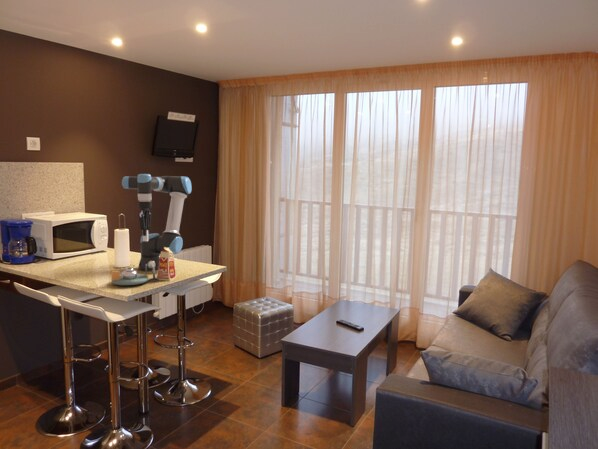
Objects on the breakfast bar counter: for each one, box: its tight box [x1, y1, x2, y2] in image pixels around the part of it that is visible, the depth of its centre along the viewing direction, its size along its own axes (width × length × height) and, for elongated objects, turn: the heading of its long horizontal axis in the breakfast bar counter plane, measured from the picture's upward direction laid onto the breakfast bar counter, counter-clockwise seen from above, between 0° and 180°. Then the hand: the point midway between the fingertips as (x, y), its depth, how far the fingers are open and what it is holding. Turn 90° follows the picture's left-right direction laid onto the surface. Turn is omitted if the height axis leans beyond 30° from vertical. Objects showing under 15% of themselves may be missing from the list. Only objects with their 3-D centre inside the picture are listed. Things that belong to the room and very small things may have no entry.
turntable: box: [110, 270, 149, 286], centre depth 265 cm, size 20×20×6 cm
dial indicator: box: [145, 261, 160, 283], centre depth 271 cm, size 5×6×12 cm
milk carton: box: [156, 247, 177, 282], centre depth 278 cm, size 9×9×20 cm
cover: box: [121, 267, 138, 280], centre depth 265 cm, size 8×8×6 cm
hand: (145, 241), depth 268 cm, fingers closed
